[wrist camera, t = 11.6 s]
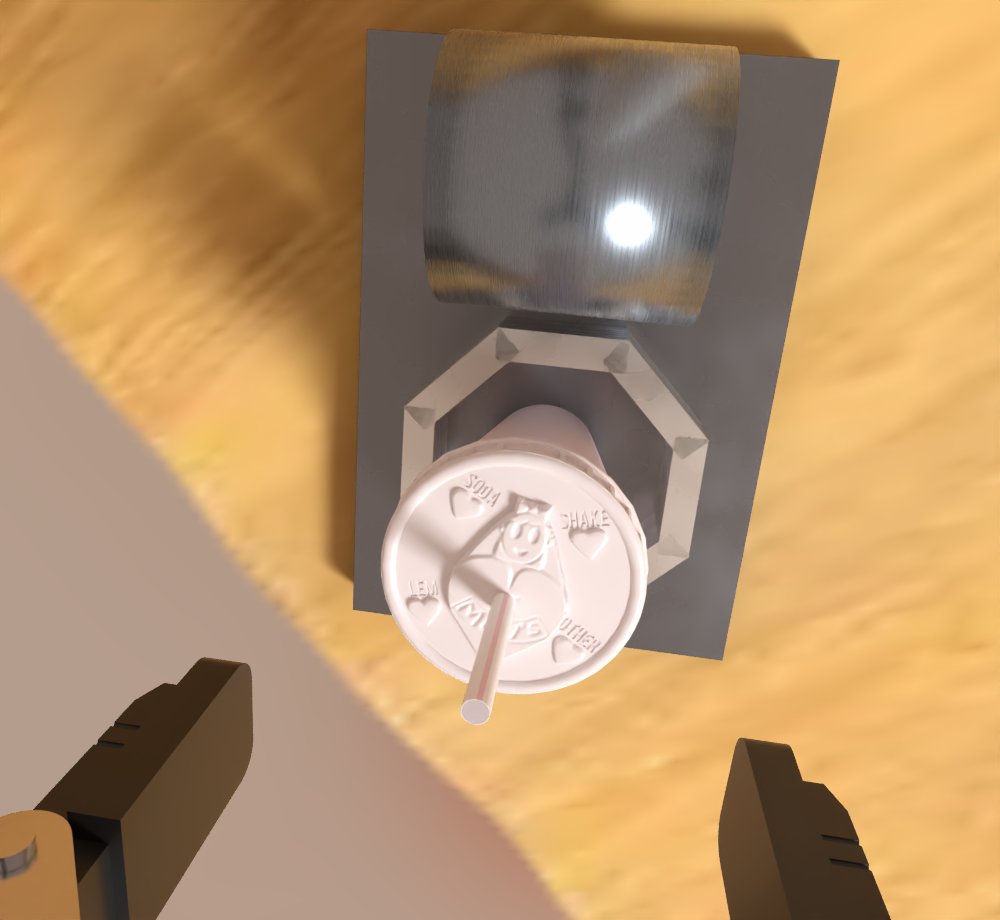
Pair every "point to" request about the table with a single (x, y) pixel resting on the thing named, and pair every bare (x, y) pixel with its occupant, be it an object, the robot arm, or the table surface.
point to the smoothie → (516, 560)
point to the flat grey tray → (586, 277)
